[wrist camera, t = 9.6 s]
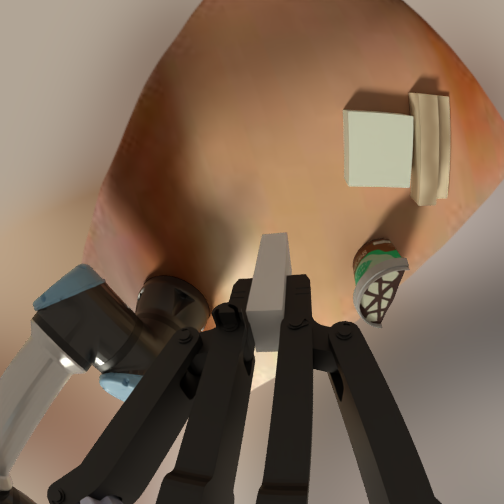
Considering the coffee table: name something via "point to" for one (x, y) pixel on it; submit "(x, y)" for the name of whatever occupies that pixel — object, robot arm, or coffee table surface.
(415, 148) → the beige ridged bar
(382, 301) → the food container
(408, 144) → the block
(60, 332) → the robot arm
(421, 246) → the coffee table surface
